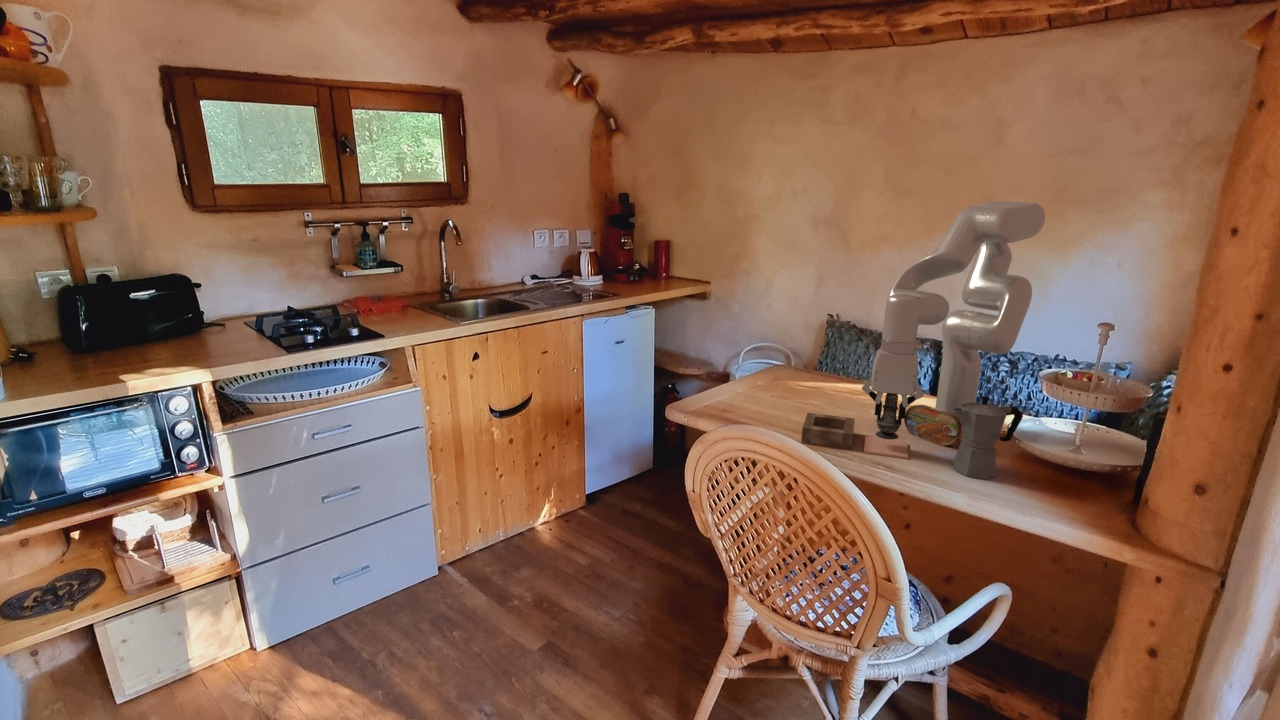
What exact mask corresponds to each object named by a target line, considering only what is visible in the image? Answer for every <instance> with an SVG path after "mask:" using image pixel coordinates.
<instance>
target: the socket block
mask: <svg viewBox="0 0 1280 720" xmlns="http://www.w3.org/2000/svg"><path fill="white" fill-rule="evenodd" d="M855 420H856V419H855V418H852V417H846V416H845V417H844V416H836V415H831V414H830V415H829V414H821V413H815V412H807V413H806V416H805V419H804V422H803V425H802V429H801V430H802V431H801V439H800V440H801V442H800V443H803V444H809V445H817V446H822V447H829V448H838V449H843V450H844V449H845V450H851V451H852V443H853V437H854V429H855Z"/></svg>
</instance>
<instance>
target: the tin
mask: <svg viewBox="0 0 1280 720" xmlns="http://www.w3.org/2000/svg"><path fill="white" fill-rule="evenodd" d="M903 422H904V426H905V427H906V430H907V431H908V433H909V434H911V435H913V436H914V435H915V436H914V437H916V436H918V437H917V438H919V437H920V439H922V438H923V440H925V439H926V440H925V441H928V440H929V441H928V442H931V443H935V444H936V445H939V444H940V445H939V446H950V445H953V444H956V443H958V442H959V441H960V440H961V439H962V437H963V436H962V424H961V422H960V420H959V418H958V417H957V416H956V415H955V414H953V413H950V412H947V411H943V410H940V409H936V408H935V407H932V406H929V405H926V404H915V405H911V406H910V407H909V408H907V409H906V412H905V419H903Z"/></svg>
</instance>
